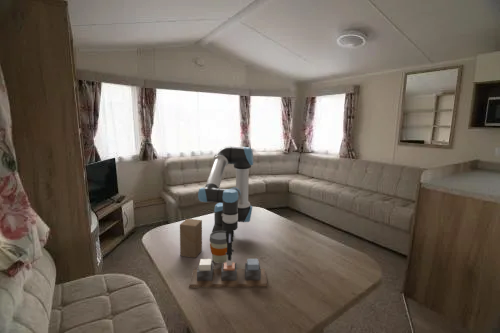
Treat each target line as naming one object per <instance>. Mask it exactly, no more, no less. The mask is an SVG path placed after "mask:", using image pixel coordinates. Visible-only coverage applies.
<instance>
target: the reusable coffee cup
mask: <svg viewBox="0 0 500 333" xmlns="http://www.w3.org/2000/svg"><path fill="white" fill-rule="evenodd" d="M227 237H228V236H227ZM209 242H210V243H209V248H210V253H211V259H212V261H213V263H216V264H222V263H226V262H227V254H226V252H227V242H226V231H215V232H213V233H212V232H211V233H210V234H209Z"/></svg>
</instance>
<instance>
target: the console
mask: <svg viewBox="0 0 500 333" xmlns="http://www.w3.org/2000/svg"><path fill="white" fill-rule="evenodd" d="M224 263H225V262H224ZM224 263H221V268H215V267H214V265H215V262H212V268H211V271H199V264H200V262H199V263H198V266H197V269H196V268H195V269H192V270H193V271H192V274H191V277H190V281H189V288H231V287H232V288H233V287H234V288H235V287H237V288H238V287H239V288H242V287H248V288H249V287H252V288H253V287H268V279H267V274H266V271H265V268H261V266H260V263H259V270H247V262H245V263H244V268H237V266H238V265H237V262H235V271H224Z"/></svg>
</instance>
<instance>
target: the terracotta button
mask: <svg viewBox="0 0 500 333" xmlns="http://www.w3.org/2000/svg"><path fill="white" fill-rule="evenodd" d="M235 263H236V262H234V261H232V266H227V261H226V262H224V271H235Z"/></svg>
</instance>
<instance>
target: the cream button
mask: <svg viewBox="0 0 500 333" xmlns="http://www.w3.org/2000/svg"><path fill="white" fill-rule="evenodd" d="M199 260H200V261H199V263H200V264H199V263H198V265H199V271H211V268H212V263H213V262H212V261H213V258H200V259H199Z"/></svg>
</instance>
